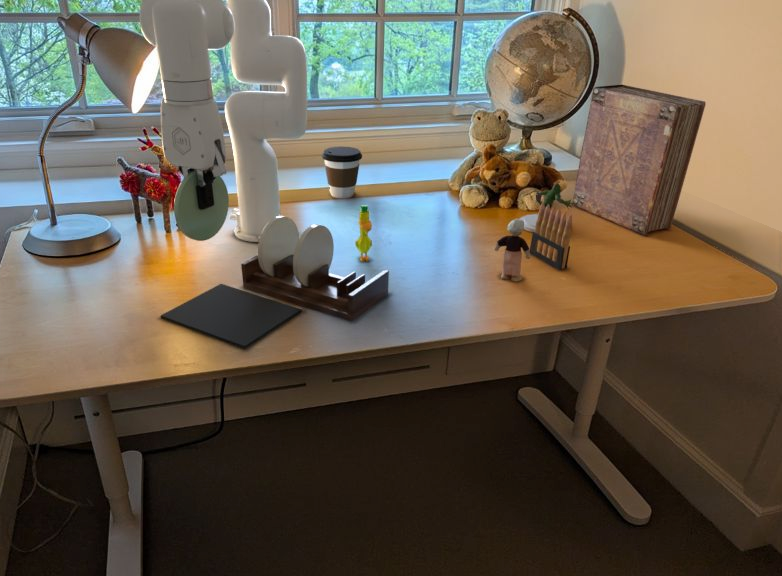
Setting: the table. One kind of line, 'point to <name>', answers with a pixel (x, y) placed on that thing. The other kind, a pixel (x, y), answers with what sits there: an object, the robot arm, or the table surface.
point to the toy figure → (364, 233)
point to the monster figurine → (550, 197)
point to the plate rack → (318, 288)
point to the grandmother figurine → (513, 250)
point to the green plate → (195, 219)
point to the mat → (232, 315)
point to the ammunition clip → (552, 237)
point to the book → (636, 156)
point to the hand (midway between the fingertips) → (202, 206)
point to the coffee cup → (342, 170)
